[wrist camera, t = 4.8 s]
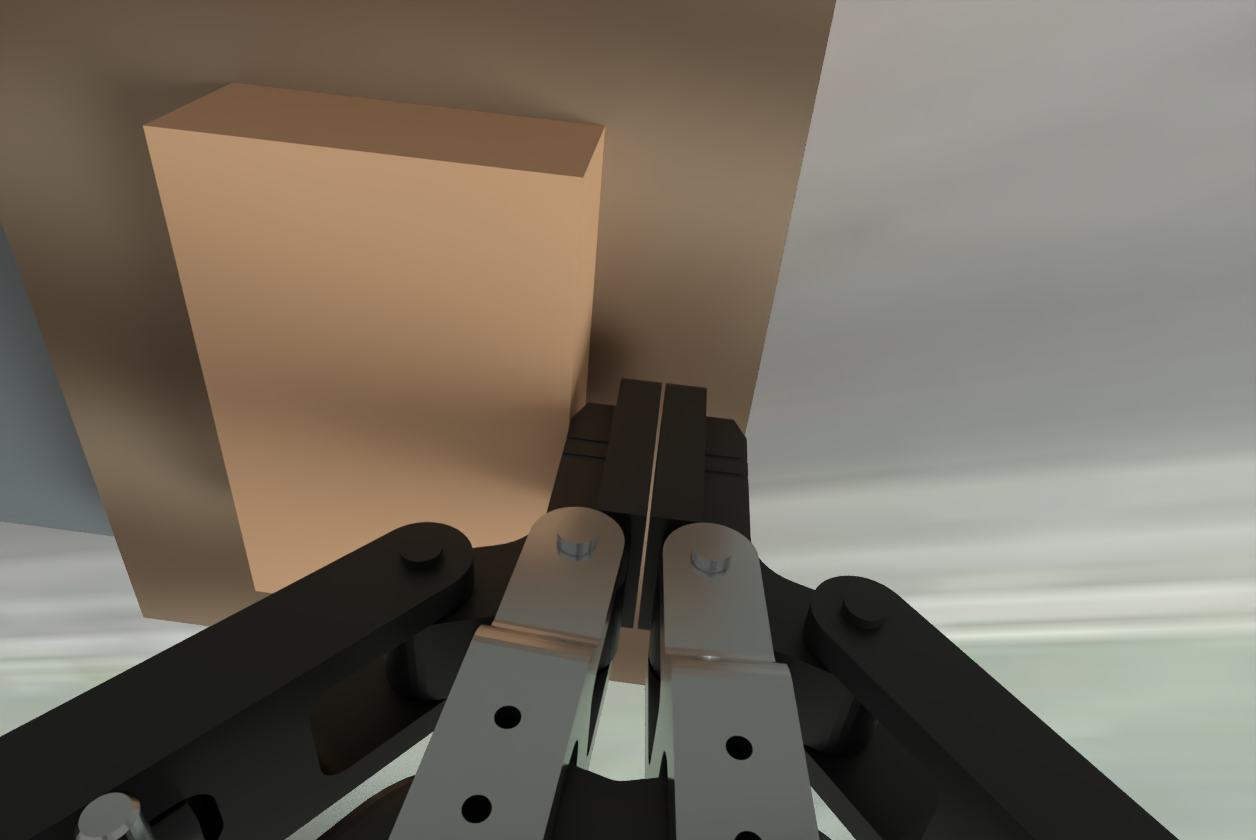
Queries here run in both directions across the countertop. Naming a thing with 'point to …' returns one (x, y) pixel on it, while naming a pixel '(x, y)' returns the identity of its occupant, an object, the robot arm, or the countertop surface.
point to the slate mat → (38, 425)
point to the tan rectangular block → (381, 310)
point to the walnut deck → (410, 73)
